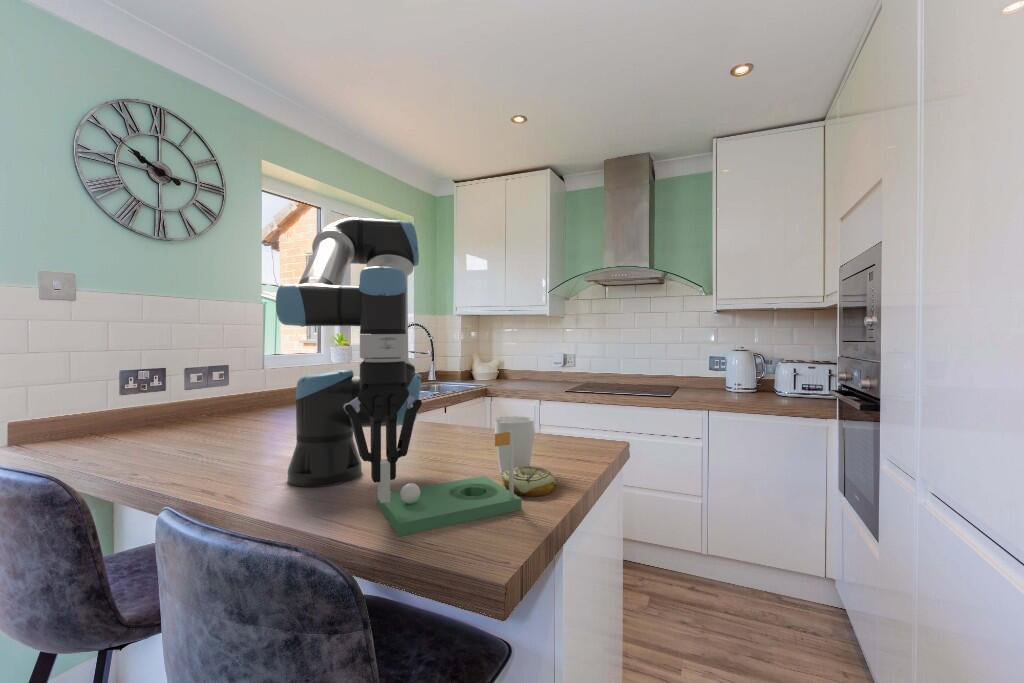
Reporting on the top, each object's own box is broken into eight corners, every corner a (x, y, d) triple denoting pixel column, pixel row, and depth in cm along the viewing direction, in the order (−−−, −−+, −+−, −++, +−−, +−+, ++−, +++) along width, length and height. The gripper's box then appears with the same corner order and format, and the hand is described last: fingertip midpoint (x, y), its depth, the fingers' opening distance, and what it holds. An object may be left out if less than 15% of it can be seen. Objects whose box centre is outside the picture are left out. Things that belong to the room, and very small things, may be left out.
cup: (518, 481, 97) (518, 425, 97) (486, 473, 102) (486, 420, 102) (541, 470, 104) (541, 419, 104) (510, 464, 110) (510, 414, 109)
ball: (398, 501, 79) (397, 482, 79) (416, 498, 81) (416, 479, 81) (403, 508, 76) (403, 488, 76) (422, 504, 78) (422, 484, 78)
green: (377, 504, 83) (376, 428, 83) (484, 485, 94) (484, 418, 94) (399, 536, 70) (399, 446, 70) (521, 509, 81) (521, 431, 81)
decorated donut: (525, 503, 85) (525, 483, 85) (492, 487, 93) (492, 469, 93) (565, 491, 91) (565, 472, 91) (531, 477, 100) (531, 460, 100)
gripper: (346, 362, 70) (346, 514, 70) (427, 360, 76) (428, 500, 76) (338, 360, 76) (339, 499, 76) (414, 358, 82) (415, 487, 83)
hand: (383, 499), depth 76 cm, fingers closed
